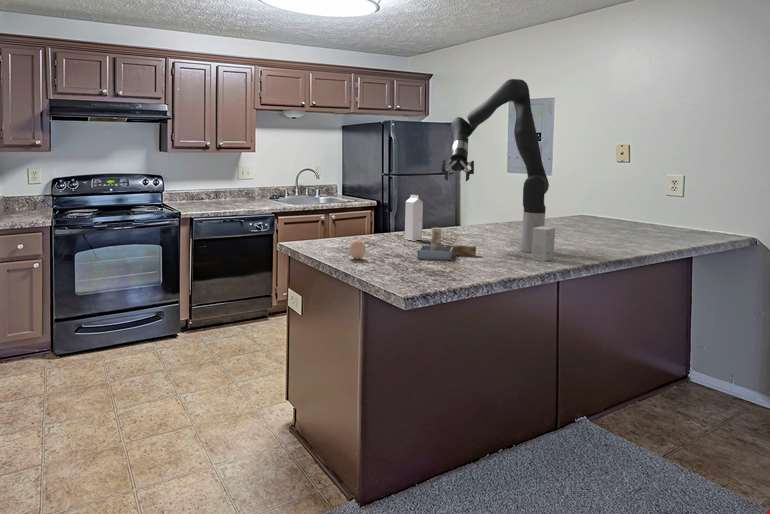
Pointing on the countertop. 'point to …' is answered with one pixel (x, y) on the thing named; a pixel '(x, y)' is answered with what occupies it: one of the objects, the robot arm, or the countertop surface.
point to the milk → (413, 218)
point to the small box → (543, 243)
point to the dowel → (435, 239)
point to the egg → (357, 249)
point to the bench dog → (462, 250)
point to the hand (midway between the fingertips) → (456, 179)
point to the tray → (434, 253)
